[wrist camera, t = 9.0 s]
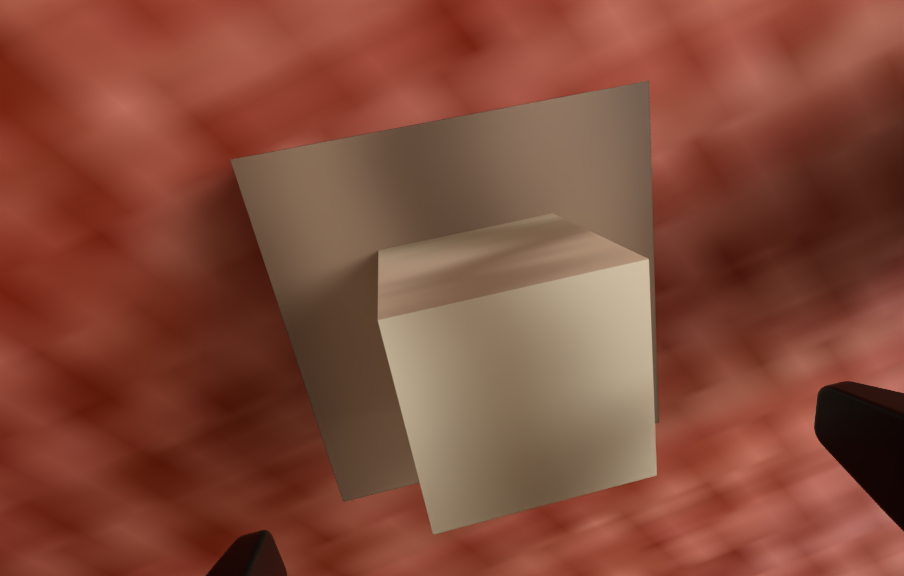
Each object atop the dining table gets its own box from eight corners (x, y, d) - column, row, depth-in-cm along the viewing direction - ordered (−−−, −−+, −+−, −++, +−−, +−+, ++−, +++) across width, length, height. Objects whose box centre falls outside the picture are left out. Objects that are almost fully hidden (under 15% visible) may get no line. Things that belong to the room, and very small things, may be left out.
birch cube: (552, 213, 13) (648, 258, 8) (569, 366, 15) (656, 475, 10) (378, 250, 13) (378, 320, 8) (415, 403, 14) (432, 534, 10)
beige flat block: (586, 92, 16) (648, 80, 12) (605, 367, 20) (658, 422, 16) (266, 152, 15) (230, 159, 11) (350, 428, 19) (343, 501, 15)
